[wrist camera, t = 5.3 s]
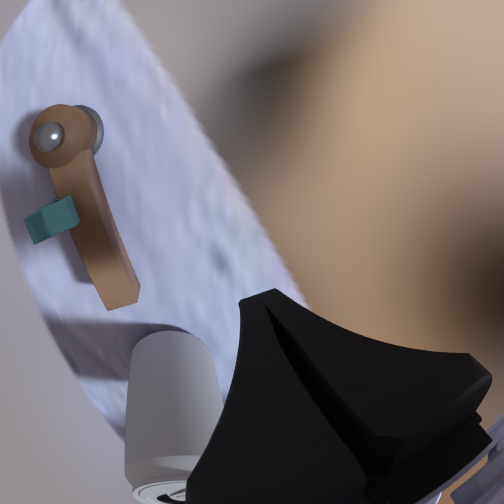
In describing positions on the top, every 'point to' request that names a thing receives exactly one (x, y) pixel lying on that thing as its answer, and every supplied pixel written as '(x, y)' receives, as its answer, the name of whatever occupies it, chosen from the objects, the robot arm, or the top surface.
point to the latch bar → (88, 204)
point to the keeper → (52, 219)
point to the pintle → (63, 133)
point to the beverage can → (168, 414)
